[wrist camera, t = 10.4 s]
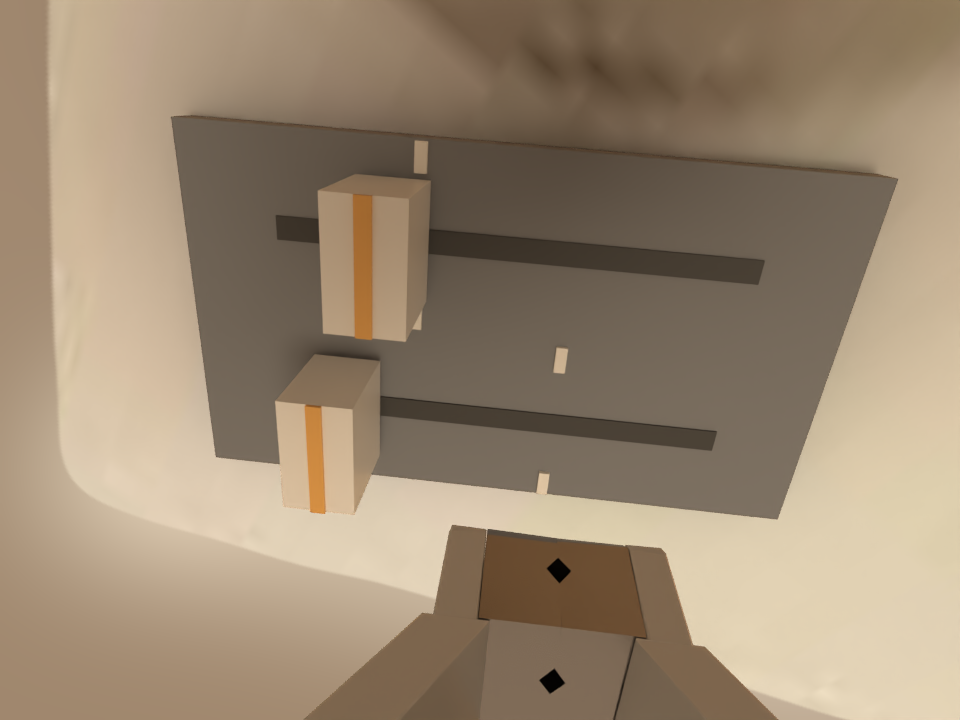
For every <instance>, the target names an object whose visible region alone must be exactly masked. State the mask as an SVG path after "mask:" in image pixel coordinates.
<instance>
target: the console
mask: <svg viewBox="0 0 960 720" xmlns="http://www.w3.org/2000/svg"><path fill="white" fill-rule="evenodd" d="M171 119H172V127H173V134H174V142H175V150H176V157H177V165H178V172H179V180H180V188H181V195H182V203H183V210H184V218H185V226H186V233H187V241H188V248H189V256H190V264H191V271H192V279H193V286H194V294H195V302H196V309H197V317H198V325H199V332H200V340H201V347H202V355H203V363H204V370H205V378H206V385H207V393H208V401H209V408H210V416H211V423H212V431H213V439H214V446H215V454H216V457H219V458H228V459H237V460H246V461H255V462H264V463H273V464H280V458H279V445H278V433H277V420H276V407H275V401H276V399H277V398H278V397H279V396H280V395H281V394H282V392H283V391H284V390H285V389H286V388H287V386H288V385H289V384H290V383H291V382H292V380H293V379H294V378H295V377H296V376H297V375H298V373H299V372H300V371H301V370H302V369H303V367H304V366H305V365H306V364H307V363H308V361H309V360H310V359H311V358H312V357H313V356H314V354H317V355H327V356H337V357H347V358H356V359H366V360H376V361H380V455H379V458H378V460H377V463H376V465H375V467H374V470H373V472H372V475H381V476H390V477H399V478H408V479H417V480H426V481H435V482H444V483H453V484H462V485H471V486H480V487H489V488H498V489H507V490H516V491H525V492H535V493H536V494H545V495H547V494H553V495H562V496H571V497H580V498H589V499H598V500H607V501H616V502H625V503H634V504H643V505H652V506H661V507H670V508H679V509H688V510H697V511H706V512H715V513H724V514H733V515H742V516H751V517H760V518H769V519H778V517H779V514H780V511H781V508H782V505H783V503H784V500H785V497H786V494H787V491H788V488H789V486H790V483H791V480H792V477H793V474H794V472H795V469H796V466H797V463H798V460H799V457H800V455H801V452H802V449H803V446H804V443H805V440H806V438H807V435H808V432H809V429H810V426H811V424H812V421H813V418H814V415H815V412H816V409H817V407H818V404H819V401H820V398H821V395H822V393H823V390H824V387H825V384H826V381H827V378H828V376H829V373H830V370H831V367H832V364H833V362H834V359H835V356H836V353H837V350H838V347H839V345H840V342H841V339H842V336H843V333H844V331H845V328H846V325H847V322H848V319H849V316H850V314H851V311H852V308H853V305H854V302H855V299H856V297H857V294H858V291H859V288H860V285H861V283H862V280H863V277H864V274H865V271H866V268H867V266H868V263H869V260H870V257H871V254H872V252H873V249H874V246H875V243H876V240H877V237H878V235H879V232H880V229H881V226H882V223H883V221H884V218H885V215H886V212H887V209H888V206H889V204H890V201H891V198H892V195H893V192H894V190H895V187H896V184H897V181H898V179H896V178H892V177H888V176H883V175H879V174H870V173H859V172H847V171H835V170H824V169H812V168H800V167H788V166H777V165H765V164H753V163H742V162H730V161H718V160H706V159H695V158H683V157H671V156H660V155H648V154H636V153H625V152H613V151H601V150H589V149H578V148H566V147H554V146H543V145H531V144H519V143H508V142H496V141H484V140H472V139H461V138H449V137H437V136H426V135H414V134H402V133H391V132H379V131H367V130H355V129H344V128H332V127H320V126H309V125H297V124H285V123H273V122H262V121H250V120H238V119H227V118H215V117H203V116H192V115H191V116H174V117H171ZM354 174H363V175H374V176H385V177H396V178H408V179H419V180H430V181H431V193H430V219H429V244H428V270H427V296H426V303H425V305H424V307H423V309H422V311H421V313H420V315H419V317H418V319H417V321H416V323H415V325H414V327H413V329H412V330H411V332H410V334H409V336H408V338H407V340H406V342H402V341H392V340H382V339H372V340H366V339H356V338H355V337H353V336H343V335H333V334H323V319H322V293H321V266H320V240H319V214H318V190H320V189H322V188H325V187H327V186H329V185H331V184H334V183H336V182H338V181H340V180H343V179H345V178H347V177H350V176H352V175H354Z"/></svg>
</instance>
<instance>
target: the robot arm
mask: <svg viewBox="0 0 960 720" xmlns="http://www.w3.org/2000/svg"><path fill="white" fill-rule="evenodd" d="M486 531H487V530H485V529H480V528H472V527H465V526H457V525H452V527H451V529H450V531H449V535H448V541H447V546H446V551H445V556H444V561H443V566H442V571H441V577H440V582H439V587H438V592H437V597H436V603H435V608H434V613H433V614H428V613H422V614H421V615H419V616H418V617H417V618H416V619H415V620H414V621H413V622H412V623H410V624H409V625H408V626H407V627H406V628H405V629H404V630H403V631H401V633H399V634H398V635H397V636H396V637H395V638H394V639H393V640H391V641H390V642H389V643H388V644H387V645H386V646H385V647H384V648H383V649H381V650H380V651H379V652H378V653H377V654H376V655H375V656H374V657H373V658H371V659H370V660H369V661H368V662H367V663H366V664H365V665H364V666H363V667H362V668H360V669H359V670H358V671H357V672H356V673H355V674H354V675H353V676H351V677H350V678H349V679H348V680H347V681H346V682H345V683H344V684H343V685H341V686H340V687H339V688H338V689H337V690H336V691H335V692H334V693H332V694H331V695H330V696H329V697H328V698H327V699H326V700H325V701H324V702H322V703H321V704H320V705H319V706H318V707H317V708H316V709H315V710H314V711H312V712H311V713H310V714H309V715H308V716H307V717H306V718H305V719H303V720H778V719H777V718H776V717H775V716H774V715H773V714H772V713H771V712H770V711H769V710H768V709H767V708H766V707H765V706H764V705H763V704H762V703H761V702H760V701H759V700H758V699H757V698H756V697H755V696H754V695H753V694H752V693H751V692H750V691H749V690H748V689H747V688H746V687H745V686H744V685H743V684H742V683H741V682H740V681H739V680H738V679H737V678H736V677H735V676H734V675H733V674H732V673H731V672H730V671H729V670H728V669H727V668H726V667H725V666H724V665H723V664H722V663H721V662H720V661H719V660H718V659H717V658H716V657H715V656H714V655H713V654H712V653H711V652H710V651H709V650H708V649H707V648H706V647H703V646H695V645H693V643H692V640H691V636H690V633H689V630H688V626H687V623H686V620H685V616H684V613H683V609H682V606H681V603H680V599H679V596H678V593H677V589H676V586H675V583H674V579H673V576H672V572H671V569H670V566H669V562H668V559H667V556H666V553H665V552H664V551H663V550H662V549H661V548H653V547H642V546H631V545H625V546H623V545H613V544H604V543H595V542H585V541H576V540H566V539H557V538H550V537H543V536H536V535H528V534H521V533H514V532H506V531H499V530H492V529H488V531H487V539H486ZM485 543H486V548H485ZM484 554H485V557H484Z"/></svg>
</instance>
